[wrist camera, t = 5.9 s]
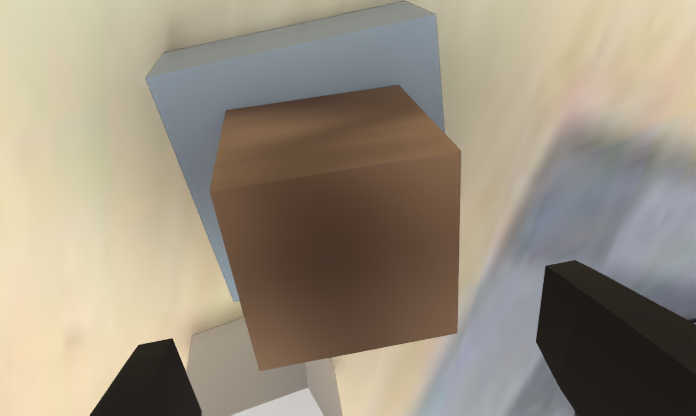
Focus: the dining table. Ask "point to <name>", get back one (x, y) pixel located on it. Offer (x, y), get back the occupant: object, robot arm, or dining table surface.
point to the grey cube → (256, 379)
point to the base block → (288, 82)
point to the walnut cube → (339, 223)
